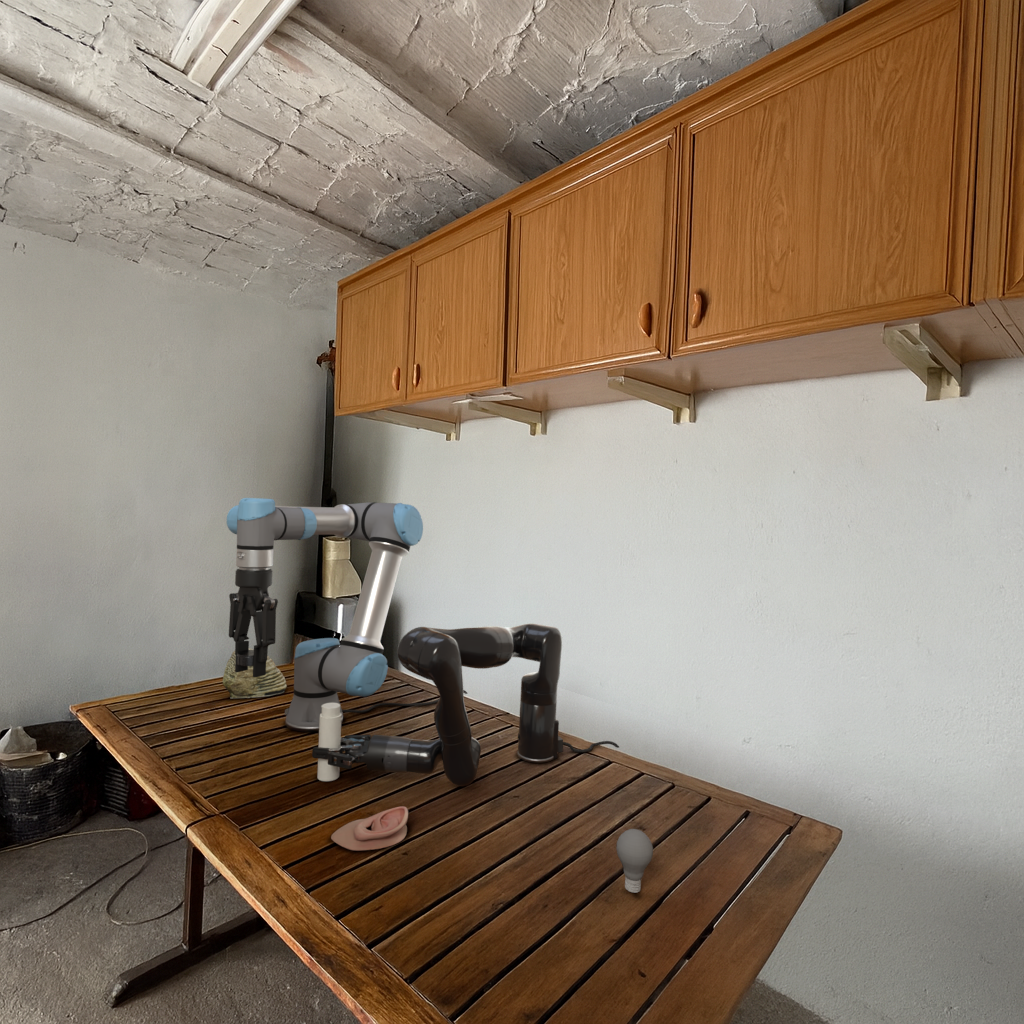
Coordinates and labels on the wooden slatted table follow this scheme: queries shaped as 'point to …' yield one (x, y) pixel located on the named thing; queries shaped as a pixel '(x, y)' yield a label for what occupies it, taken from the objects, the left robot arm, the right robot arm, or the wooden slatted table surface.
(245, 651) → the lid
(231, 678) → the fossil
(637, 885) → the light bulb
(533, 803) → the wooden slatted table surface
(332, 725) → the jar
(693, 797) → the wooden slatted table surface
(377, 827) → the anatomical model
